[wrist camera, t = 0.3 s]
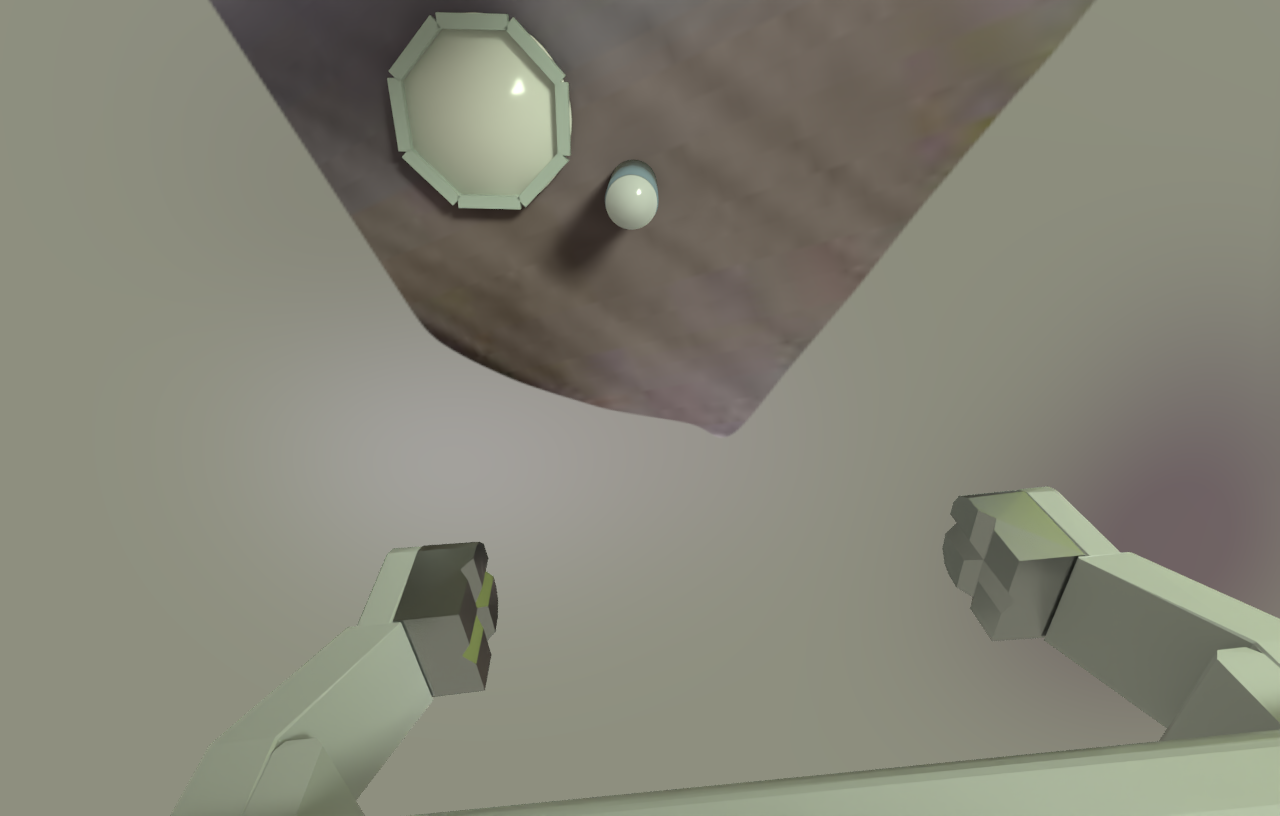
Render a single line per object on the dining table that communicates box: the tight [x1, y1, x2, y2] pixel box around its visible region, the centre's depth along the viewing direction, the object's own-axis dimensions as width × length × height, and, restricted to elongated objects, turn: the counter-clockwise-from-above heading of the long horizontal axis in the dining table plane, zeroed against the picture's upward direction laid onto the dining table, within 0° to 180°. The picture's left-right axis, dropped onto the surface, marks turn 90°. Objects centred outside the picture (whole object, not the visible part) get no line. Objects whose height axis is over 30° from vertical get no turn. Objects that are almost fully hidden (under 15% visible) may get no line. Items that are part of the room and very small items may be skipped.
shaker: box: [605, 160, 658, 229], centre depth 48 cm, size 4×4×8 cm
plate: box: [387, 12, 572, 209], centre depth 49 cm, size 14×14×2 cm
